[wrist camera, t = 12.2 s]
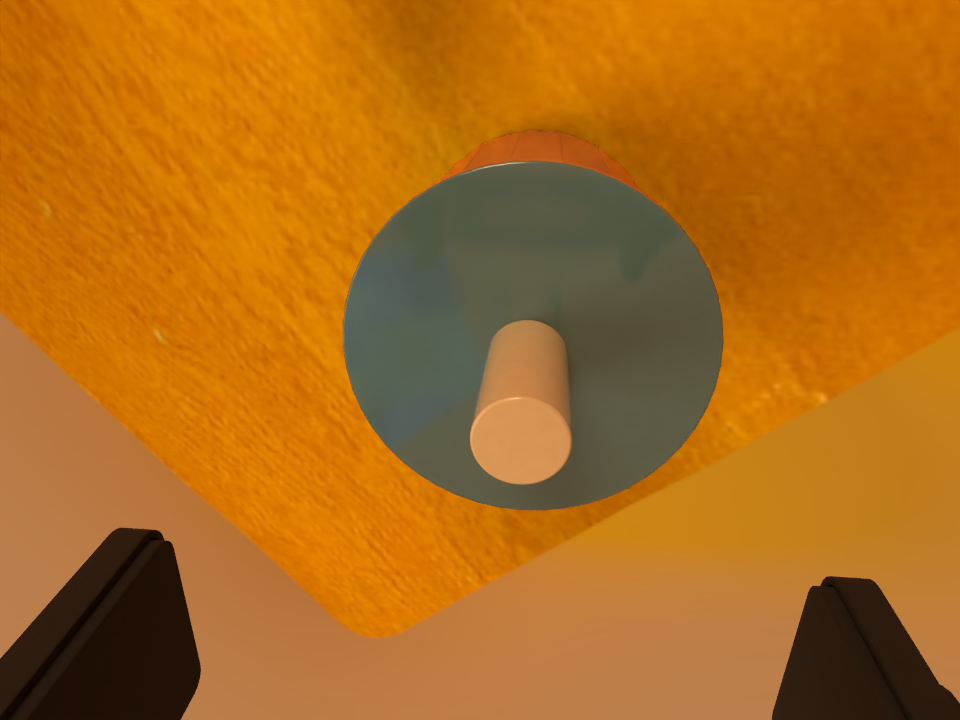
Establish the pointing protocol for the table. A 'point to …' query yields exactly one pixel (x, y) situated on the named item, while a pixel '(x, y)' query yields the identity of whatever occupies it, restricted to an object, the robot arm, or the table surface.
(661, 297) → the canister lid
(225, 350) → the table surface
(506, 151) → the canister
